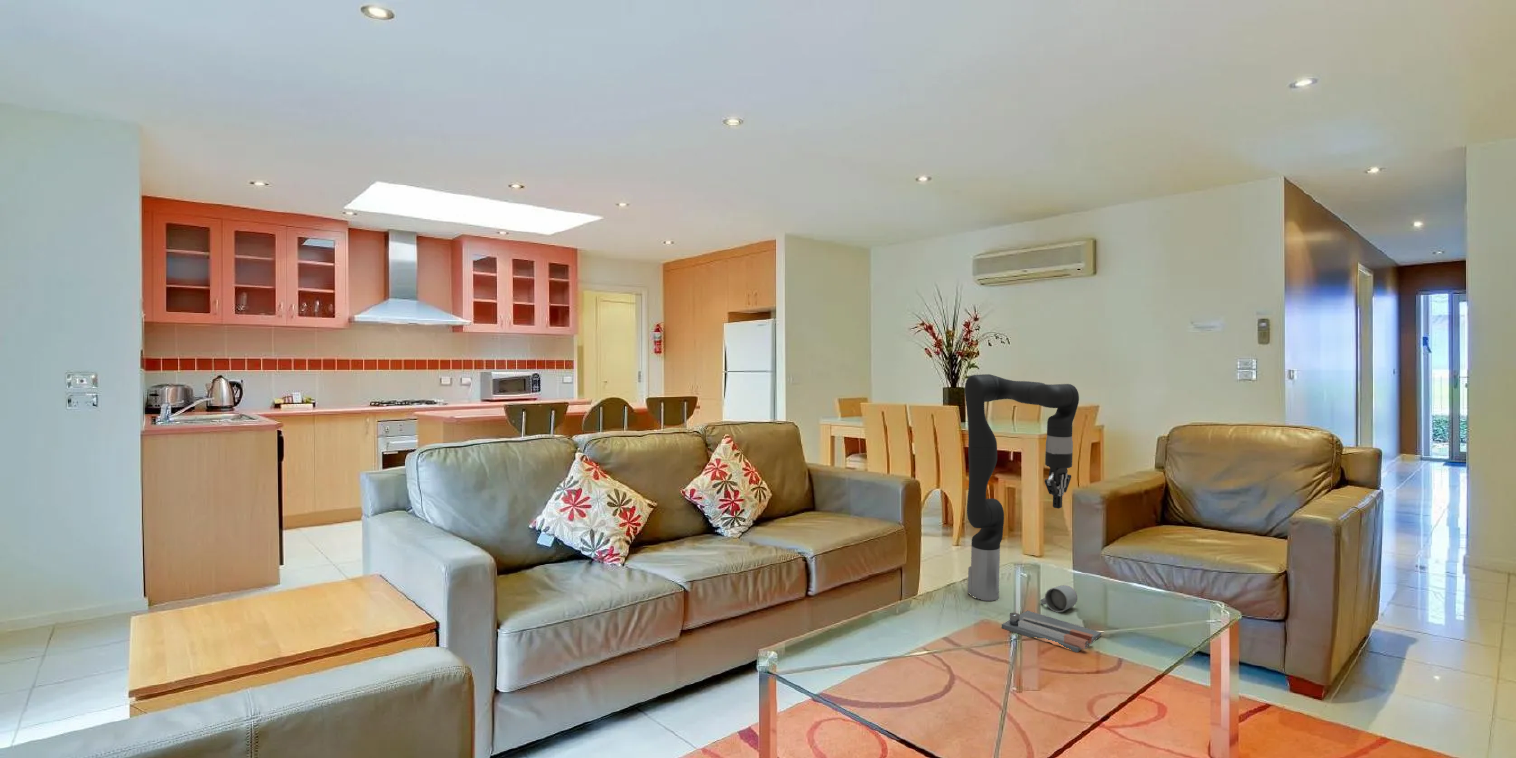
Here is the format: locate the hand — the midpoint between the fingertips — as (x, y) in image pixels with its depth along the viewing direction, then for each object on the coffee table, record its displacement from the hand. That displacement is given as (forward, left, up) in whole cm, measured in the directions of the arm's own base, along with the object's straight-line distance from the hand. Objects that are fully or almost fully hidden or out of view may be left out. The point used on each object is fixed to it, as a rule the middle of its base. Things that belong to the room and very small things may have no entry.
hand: (1057, 507), depth 222 cm
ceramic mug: (-6, +16, -37) cm, 41 cm away
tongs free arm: (+4, -7, -36) cm, 36 cm away
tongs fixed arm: (+2, -9, -36) cm, 37 cm away
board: (+1, -4, -37) cm, 37 cm away
